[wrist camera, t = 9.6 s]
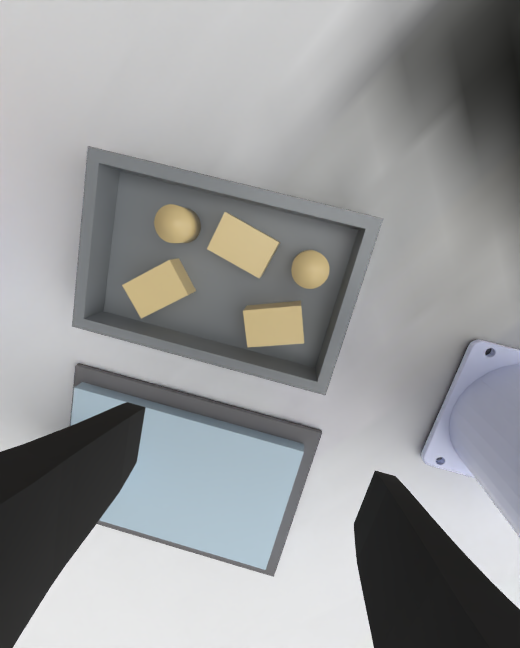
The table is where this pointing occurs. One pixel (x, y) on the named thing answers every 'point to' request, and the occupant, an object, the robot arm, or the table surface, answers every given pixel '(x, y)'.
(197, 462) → the lid
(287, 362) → the tub
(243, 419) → the mat
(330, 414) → the table surface
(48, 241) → the table surface
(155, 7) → the table surface
